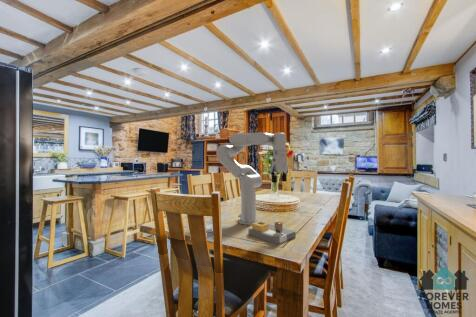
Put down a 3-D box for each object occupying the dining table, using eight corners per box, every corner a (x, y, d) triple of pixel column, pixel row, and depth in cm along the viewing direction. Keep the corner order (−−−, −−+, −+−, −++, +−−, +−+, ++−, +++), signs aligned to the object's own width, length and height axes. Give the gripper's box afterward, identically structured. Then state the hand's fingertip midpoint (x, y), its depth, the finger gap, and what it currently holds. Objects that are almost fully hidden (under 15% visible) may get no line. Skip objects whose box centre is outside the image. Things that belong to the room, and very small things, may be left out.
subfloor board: (248, 234, 128) (248, 228, 128) (267, 228, 138) (267, 223, 138) (277, 244, 113) (277, 238, 113) (295, 237, 124) (295, 231, 124)
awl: (272, 240, 119) (273, 222, 119) (277, 238, 121) (277, 221, 121) (279, 242, 116) (279, 224, 116) (283, 240, 118) (284, 223, 118)
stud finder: (252, 228, 128) (252, 222, 128) (259, 226, 132) (259, 221, 132) (261, 231, 123) (261, 225, 123) (268, 229, 127) (268, 223, 127)
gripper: (275, 153, 129) (275, 183, 129) (292, 153, 141) (292, 181, 141) (265, 153, 135) (265, 182, 135) (282, 153, 147) (282, 180, 147)
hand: (279, 181), depth 138 cm, fingers open, 9 cm apart
